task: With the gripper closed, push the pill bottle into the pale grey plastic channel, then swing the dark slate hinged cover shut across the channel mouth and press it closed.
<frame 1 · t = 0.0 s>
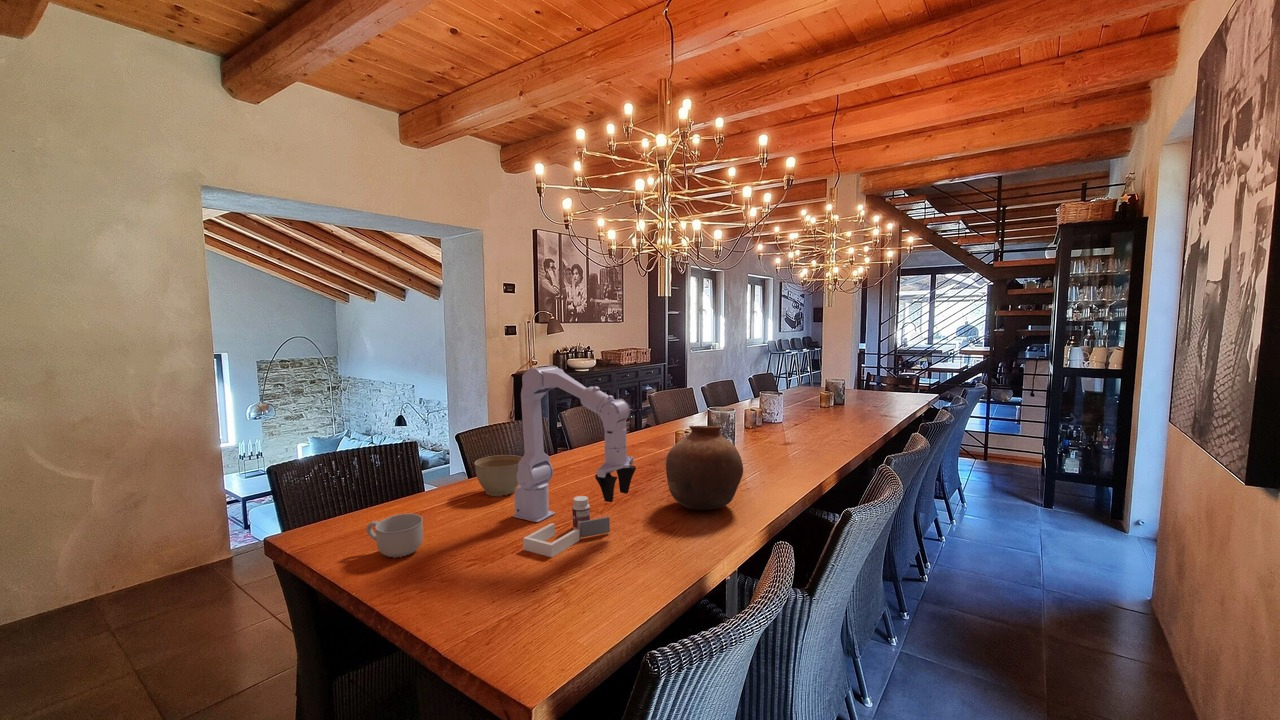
hand: (616, 497, 139), 10 cm above the table, tool pointing down, fingers open, 7 cm apart
planter bowl: (501, 493, 176), on the table
channel cover: (593, 527, 138), point 2 cm above the table, hinge at 125.0°
pill bottle: (581, 528, 144), on the table
channel: (553, 544, 134), on the table
pottery: (704, 507, 159), on the table
teacup: (395, 552, 131), on the table
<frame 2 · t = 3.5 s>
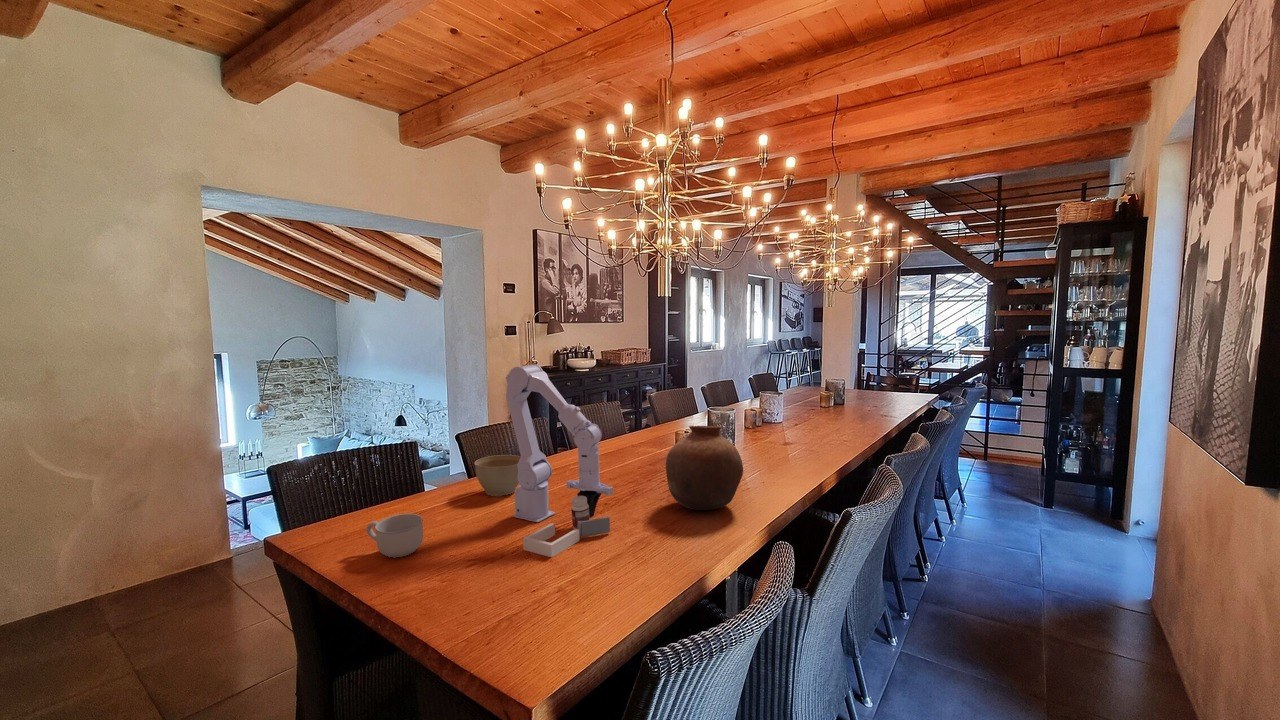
hand: (590, 516, 148), 2 cm above the table, tool pointing down, fingers closed, pressing on pill bottle
pill bottle: (581, 528, 144), on the table, touching gripper
everything else where it was.
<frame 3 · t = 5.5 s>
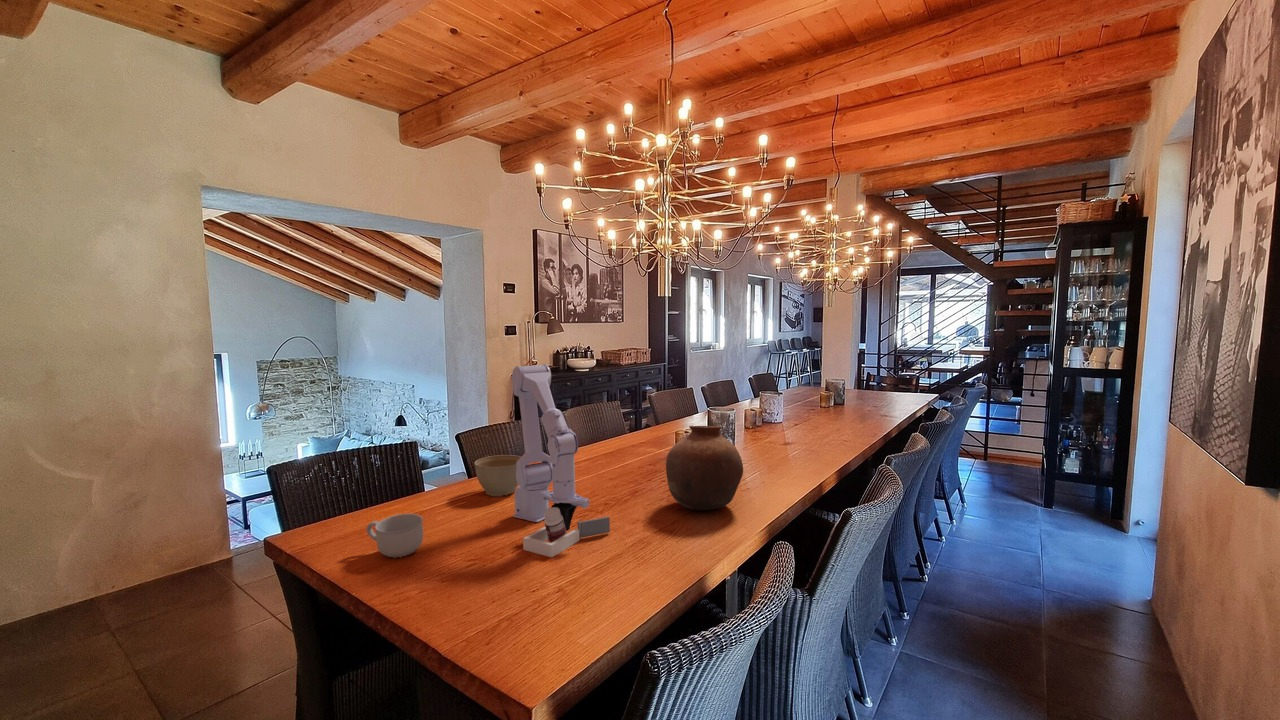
hand: (565, 530, 138), 2 cm above the table, tool pointing down, fingers closed, pressing on pill bottle
pill bottle: (558, 540, 135), resting in channel, touching gripper
everything else where it was.
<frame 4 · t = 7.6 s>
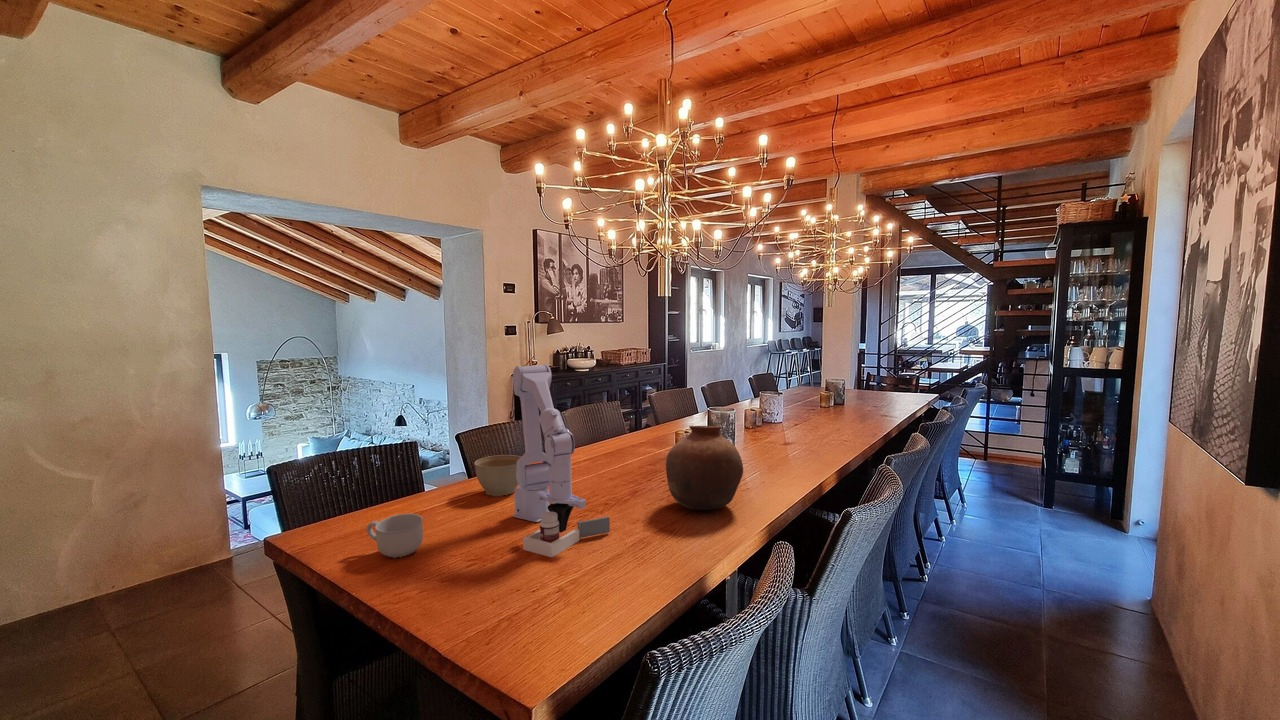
hand: (561, 530, 137), 2 cm above the table, tool pointing down, fingers closed
pill bottle: (550, 547, 133), resting in channel
everything else where it was.
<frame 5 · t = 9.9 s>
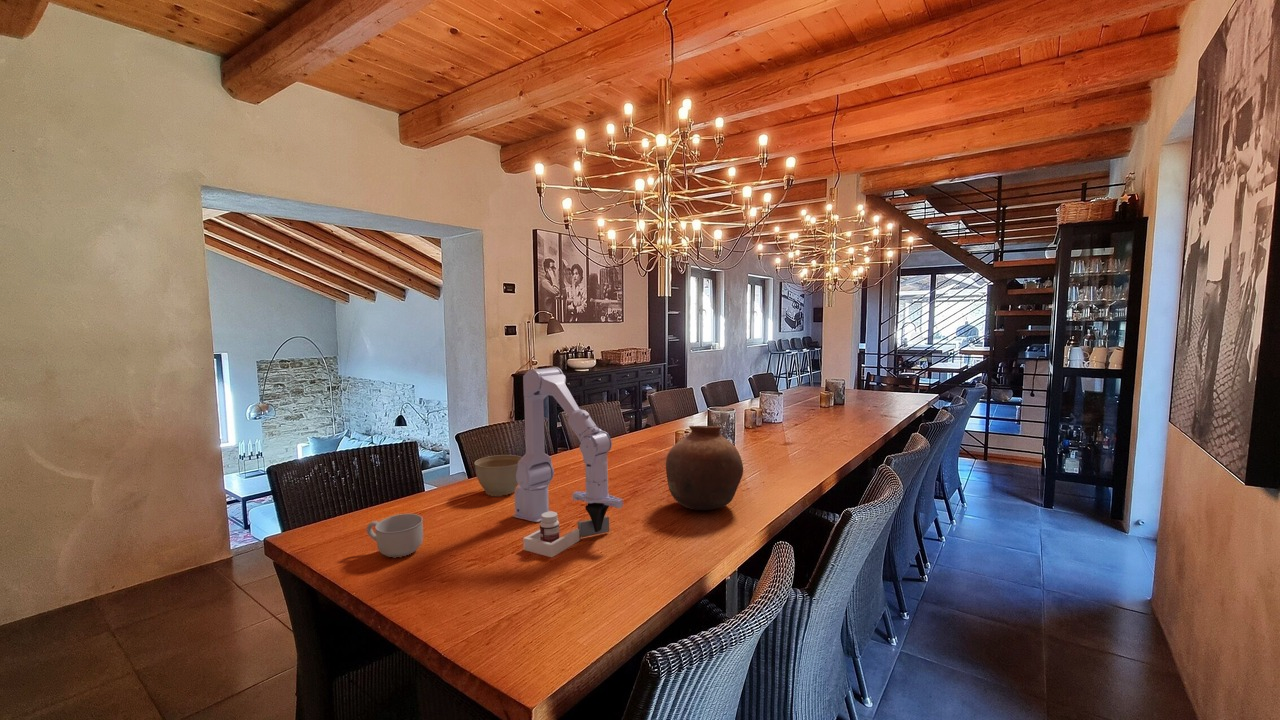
hand: (598, 530, 137), 2 cm above the table, tool pointing down, fingers closed, pressing on channel cover
channel cover: (593, 527, 138), point 2 cm above the table, hinge at 122.5°, touching gripper
everything else where it was.
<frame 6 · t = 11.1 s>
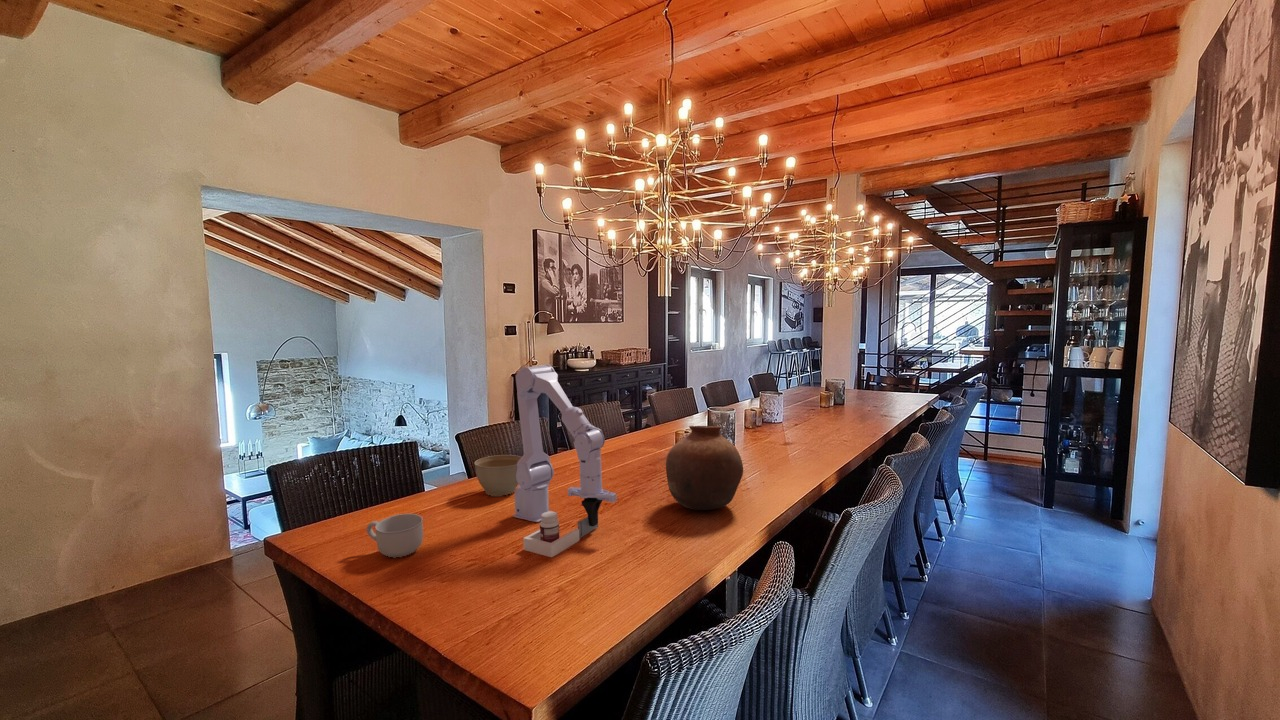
hand: (593, 524, 141), 2 cm above the table, tool pointing down, fingers closed, pressing on channel cover
channel cover: (587, 524, 140), point 2 cm above the table, hinge at 88.4°, touching gripper
everything else where it was.
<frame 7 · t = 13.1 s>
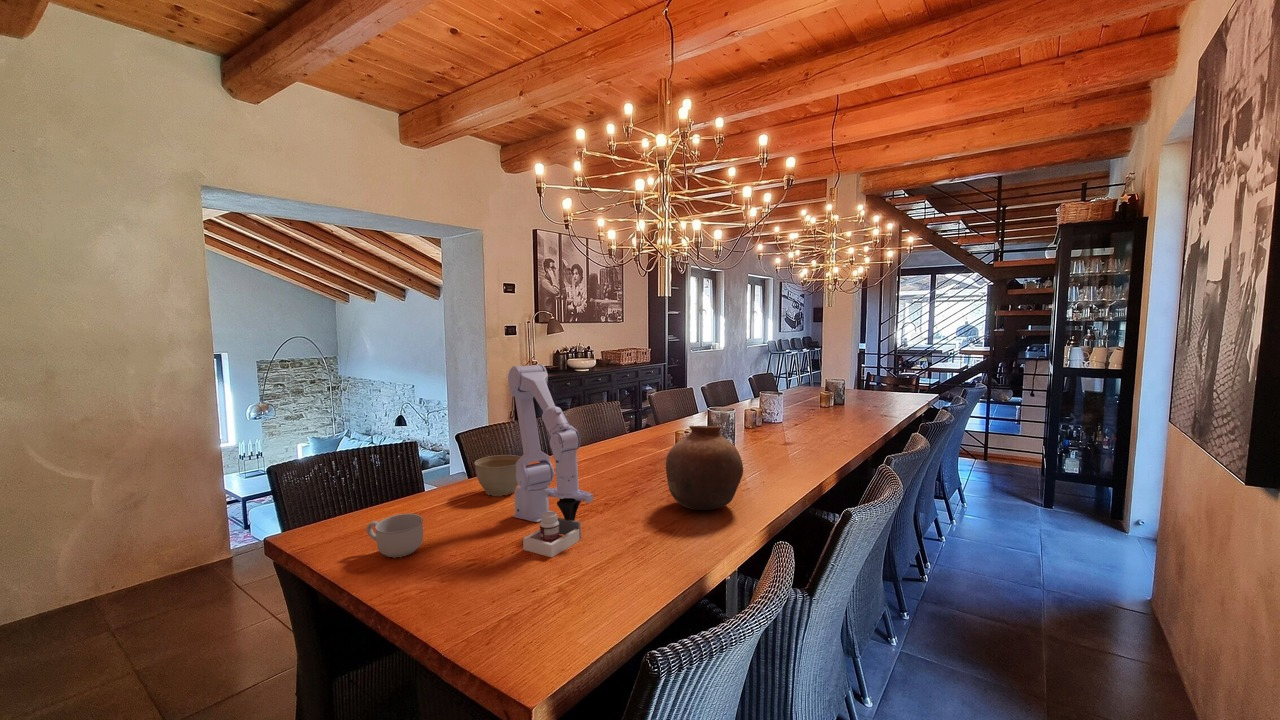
hand: (570, 525, 140), 2 cm above the table, tool pointing down, fingers closed, pressing on channel cover
channel cover: (566, 527, 138), point 2 cm above the table, hinge at -2.2°, touching channel, gripper
everything else where it was.
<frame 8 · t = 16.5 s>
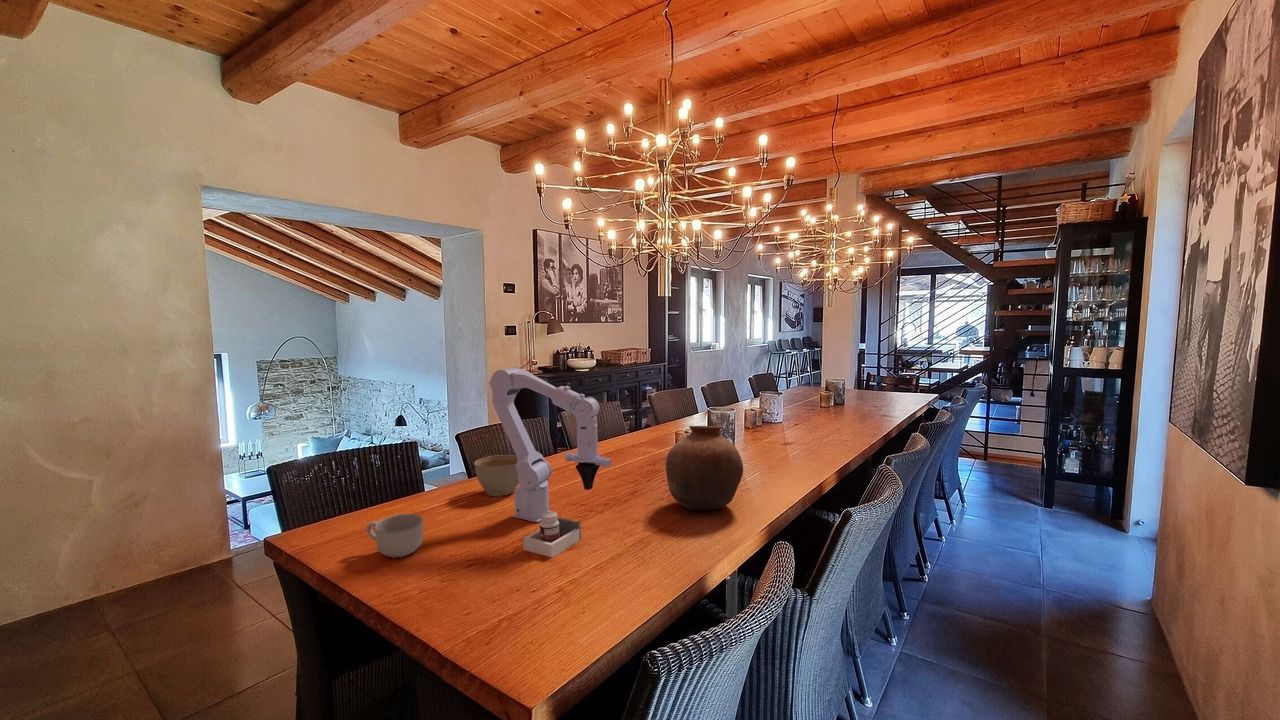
hand: (588, 488, 148), 9 cm above the table, tool pointing down, fingers closed
channel cover: (566, 527, 138), point 2 cm above the table, hinge at -2.3°, touching channel
everything else where it was.
at the end: pill bottle 0.4 cm from the target spot on the channel, point 0.0 cm above the channel's base; pill bottle tilted 0°; channel cover at -2° (first picture: +125°) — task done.
